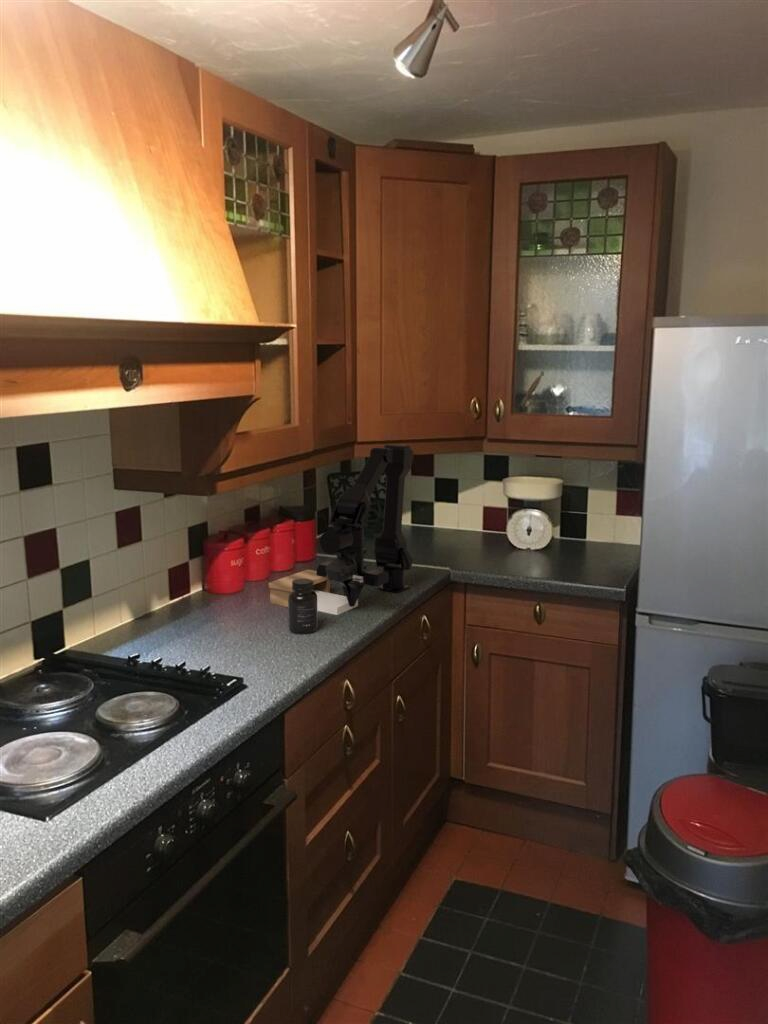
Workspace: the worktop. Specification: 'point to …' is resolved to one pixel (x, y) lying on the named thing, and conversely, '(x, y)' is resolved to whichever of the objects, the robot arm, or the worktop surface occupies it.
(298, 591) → the supplement bottle
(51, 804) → the worktop surface
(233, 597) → the worktop surface
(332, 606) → the panel
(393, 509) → the robot arm
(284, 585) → the oak shelf
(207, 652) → the worktop surface
